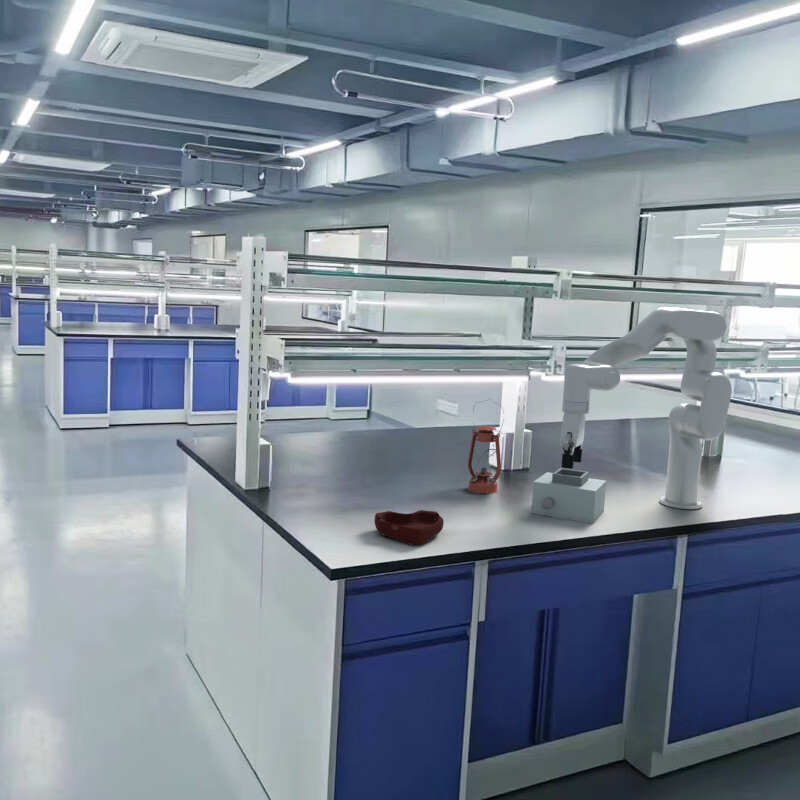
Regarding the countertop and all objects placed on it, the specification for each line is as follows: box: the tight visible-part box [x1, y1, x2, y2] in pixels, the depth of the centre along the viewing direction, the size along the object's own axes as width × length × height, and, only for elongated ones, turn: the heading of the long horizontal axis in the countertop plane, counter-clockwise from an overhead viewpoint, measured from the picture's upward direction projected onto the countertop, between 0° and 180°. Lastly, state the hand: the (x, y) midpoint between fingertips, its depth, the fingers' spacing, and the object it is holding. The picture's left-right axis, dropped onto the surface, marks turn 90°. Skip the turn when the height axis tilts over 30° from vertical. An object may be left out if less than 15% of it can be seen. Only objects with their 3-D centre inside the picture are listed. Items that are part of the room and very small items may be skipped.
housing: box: [530, 467, 607, 524], centre depth 227 cm, size 17×18×12 cm
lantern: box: [467, 397, 505, 495], centre depth 248 cm, size 10×10×30 cm
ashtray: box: [374, 509, 445, 546], centre depth 201 cm, size 18×16×5 cm
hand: (571, 464), depth 227 cm, fingers open, 9 cm apart
